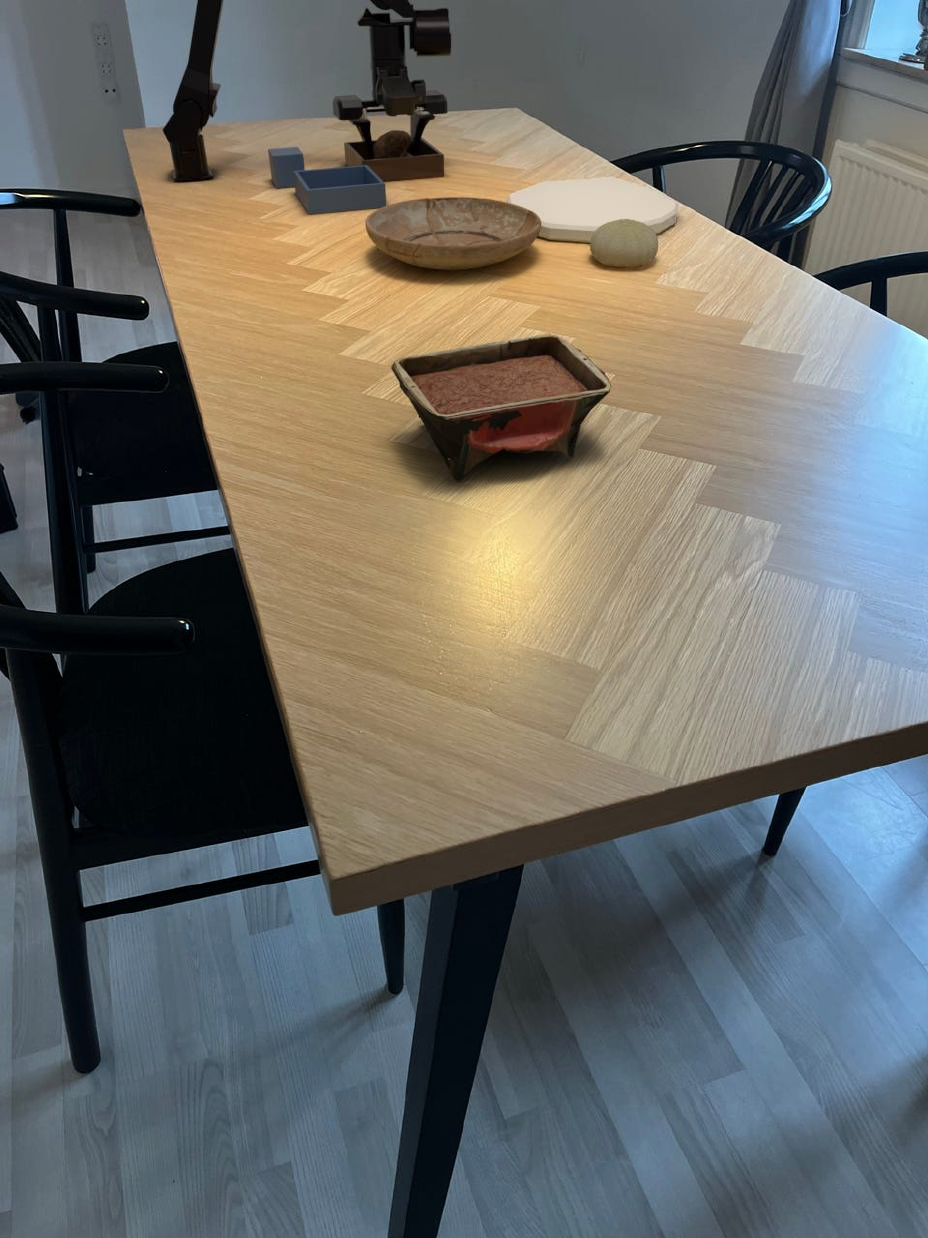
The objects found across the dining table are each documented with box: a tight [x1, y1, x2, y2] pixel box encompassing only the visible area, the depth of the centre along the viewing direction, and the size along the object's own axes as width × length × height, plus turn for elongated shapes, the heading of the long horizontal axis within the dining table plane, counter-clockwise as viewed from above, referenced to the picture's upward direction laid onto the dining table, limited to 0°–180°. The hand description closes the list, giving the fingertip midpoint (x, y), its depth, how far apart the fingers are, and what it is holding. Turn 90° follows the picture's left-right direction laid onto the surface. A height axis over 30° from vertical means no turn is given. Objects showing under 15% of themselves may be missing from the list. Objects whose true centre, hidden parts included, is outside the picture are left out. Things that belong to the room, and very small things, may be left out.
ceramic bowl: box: [364, 196, 541, 271], centre depth 127 cm, size 23×24×5 cm
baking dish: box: [390, 333, 612, 483], centre depth 85 cm, size 14×18×10 cm
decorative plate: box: [506, 175, 679, 244], centre depth 141 cm, size 25×4×25 cm
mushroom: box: [373, 129, 412, 159], centre depth 164 cm, size 8×8×6 cm
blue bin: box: [293, 165, 387, 215], centre depth 150 cm, size 12×12×4 cm
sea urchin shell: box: [589, 219, 659, 268], centre depth 126 cm, size 9×8×8 cm
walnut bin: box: [343, 136, 445, 183], centre depth 165 cm, size 14×14×4 cm
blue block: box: [267, 146, 306, 189], centre depth 157 cm, size 5×5×5 cm
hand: (392, 160), depth 165 cm, fingers closed on mushroom, 7 cm apart
